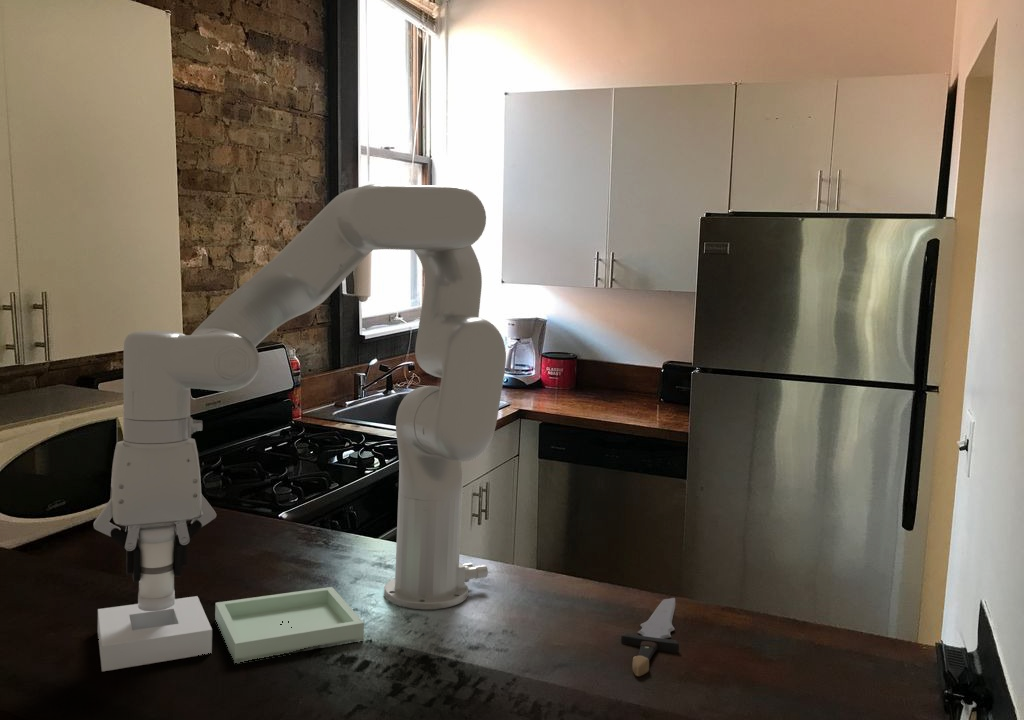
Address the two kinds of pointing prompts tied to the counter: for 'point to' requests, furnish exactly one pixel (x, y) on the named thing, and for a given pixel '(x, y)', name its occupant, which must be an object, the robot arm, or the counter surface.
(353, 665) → the counter surface
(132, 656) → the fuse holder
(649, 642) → the dagger
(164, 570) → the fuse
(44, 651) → the counter surface
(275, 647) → the parts tray
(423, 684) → the counter surface
